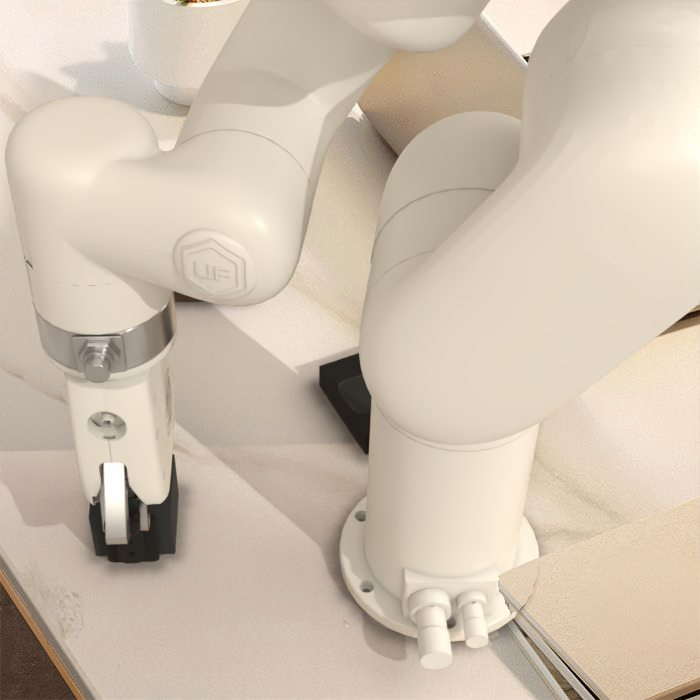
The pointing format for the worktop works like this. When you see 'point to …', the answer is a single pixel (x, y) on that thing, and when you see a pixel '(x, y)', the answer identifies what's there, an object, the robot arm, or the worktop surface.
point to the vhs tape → (349, 396)
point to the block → (163, 513)
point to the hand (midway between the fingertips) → (137, 519)
